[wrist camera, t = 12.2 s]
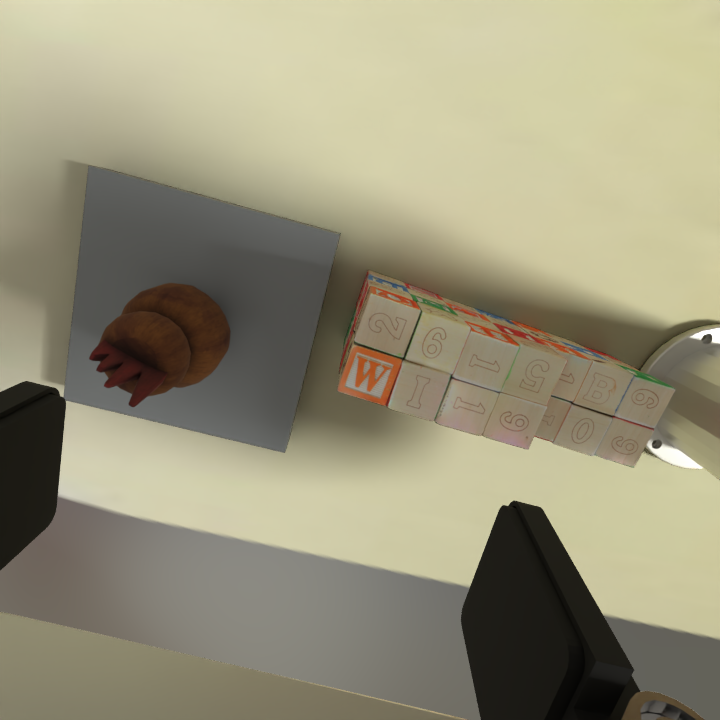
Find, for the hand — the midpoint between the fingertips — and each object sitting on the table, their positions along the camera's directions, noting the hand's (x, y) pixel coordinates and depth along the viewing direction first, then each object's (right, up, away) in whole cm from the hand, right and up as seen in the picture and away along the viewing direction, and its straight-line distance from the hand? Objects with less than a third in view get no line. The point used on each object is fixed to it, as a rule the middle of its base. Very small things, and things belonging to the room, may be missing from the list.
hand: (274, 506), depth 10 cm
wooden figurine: (-11, +6, +27) cm, 30 cm away
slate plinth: (-11, +7, +30) cm, 32 cm away
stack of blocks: (+11, +4, +31) cm, 33 cm away
